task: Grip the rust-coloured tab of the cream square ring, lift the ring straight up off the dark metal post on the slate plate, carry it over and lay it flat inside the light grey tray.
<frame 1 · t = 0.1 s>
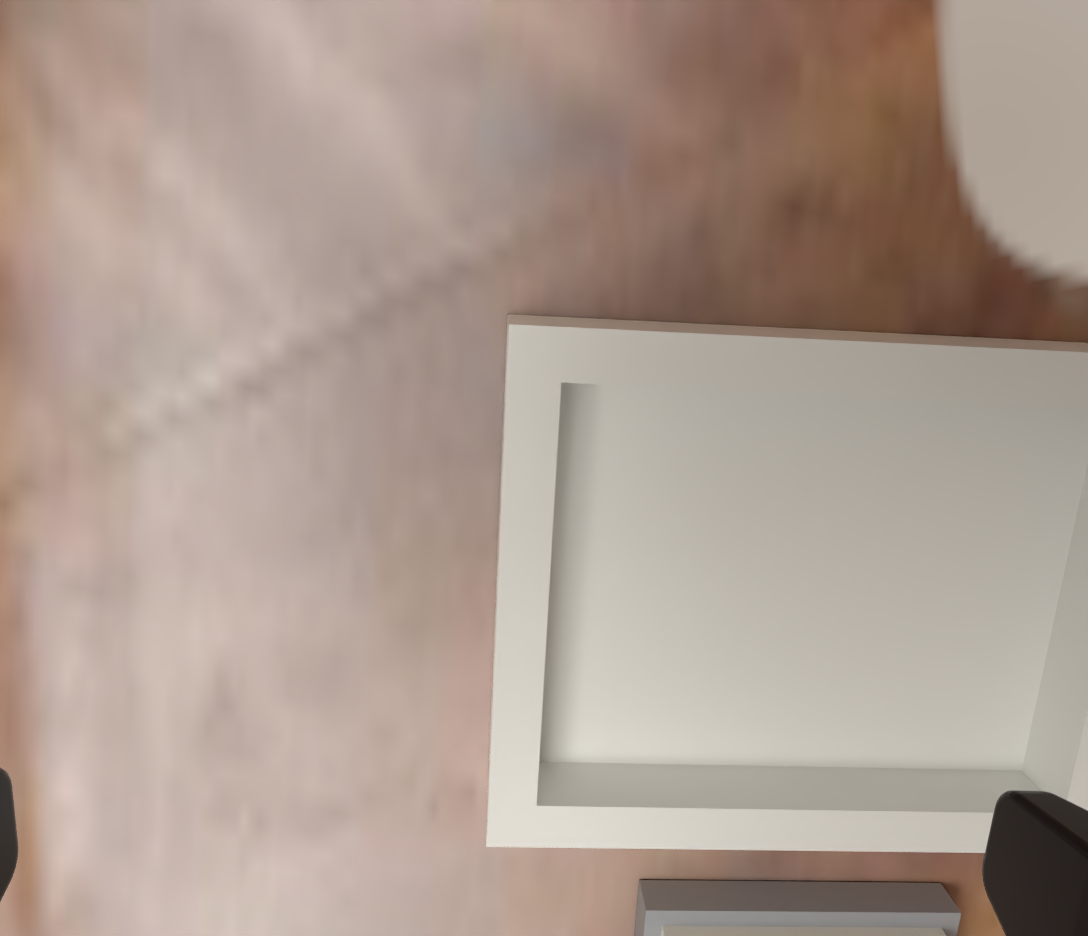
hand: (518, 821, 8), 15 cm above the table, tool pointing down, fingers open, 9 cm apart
tray: (799, 576, 23), on the table
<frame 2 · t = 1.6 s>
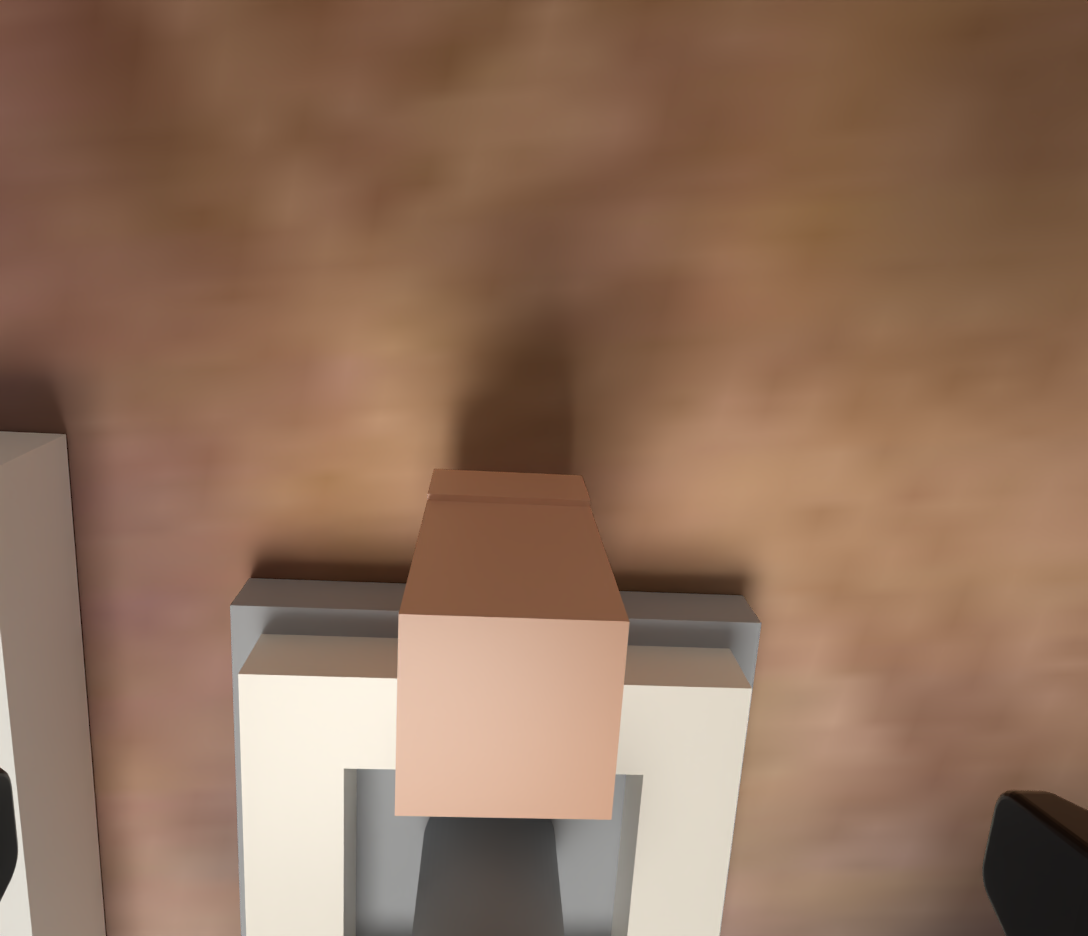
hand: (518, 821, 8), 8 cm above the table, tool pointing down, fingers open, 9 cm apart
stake: (489, 801, 17), on the table
ring: (489, 842, 16), point 1 cm above the table, touching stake
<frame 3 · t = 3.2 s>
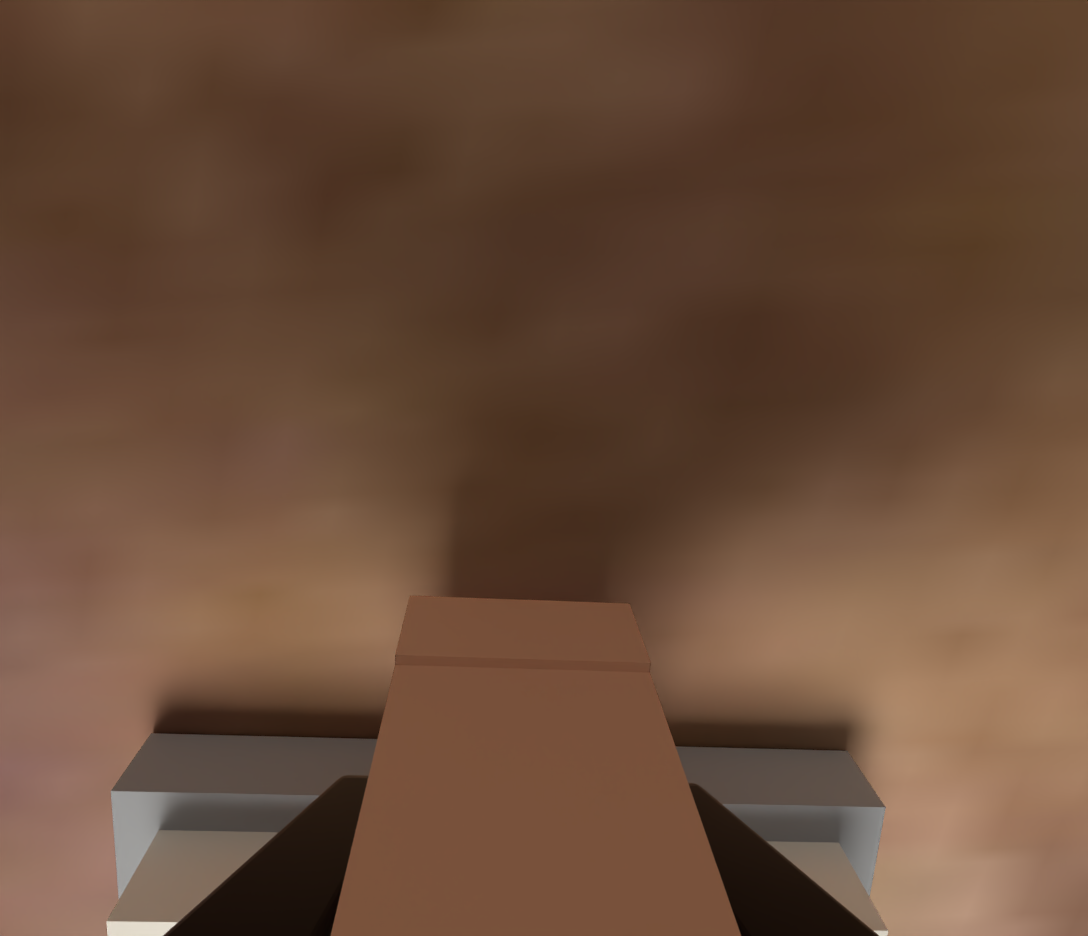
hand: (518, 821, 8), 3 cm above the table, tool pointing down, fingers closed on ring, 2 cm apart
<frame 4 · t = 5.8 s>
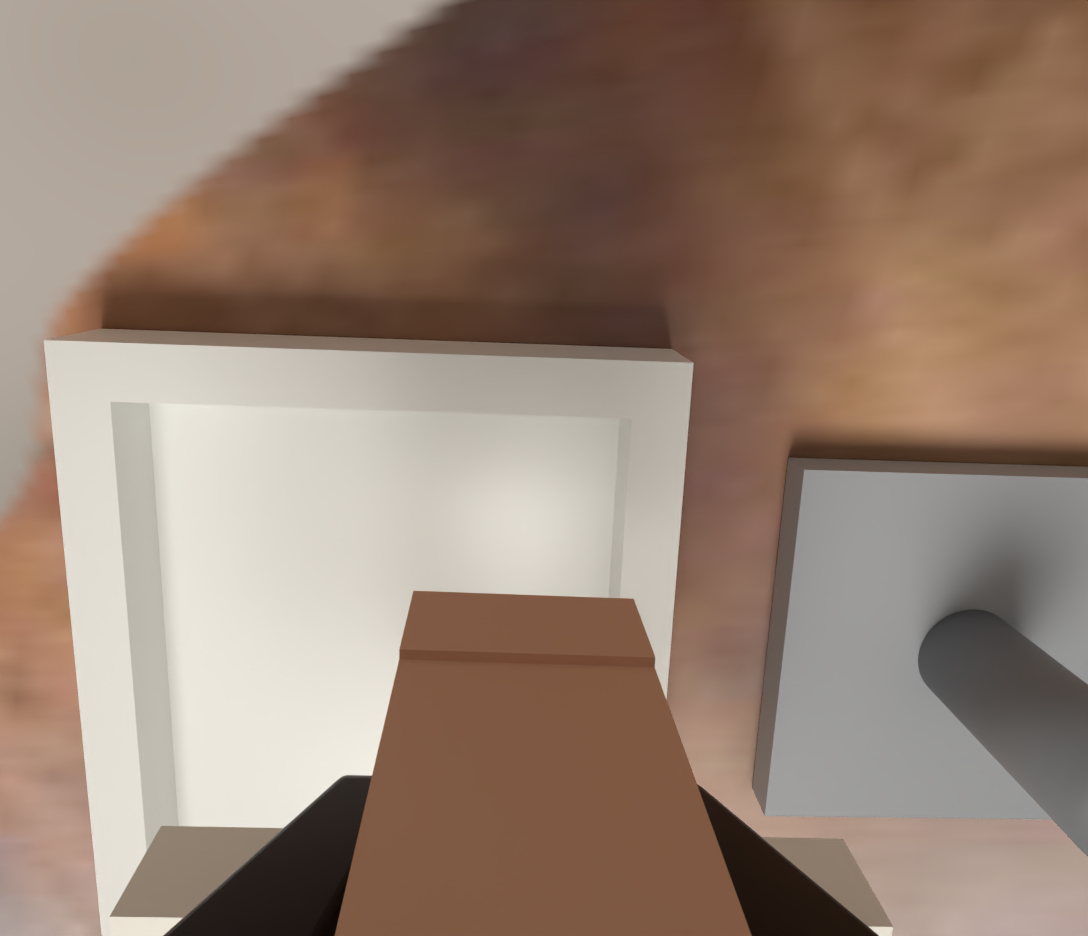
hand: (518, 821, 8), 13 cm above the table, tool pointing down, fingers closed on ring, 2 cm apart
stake: (943, 634, 23), on the table
tray: (391, 659, 22), on the table
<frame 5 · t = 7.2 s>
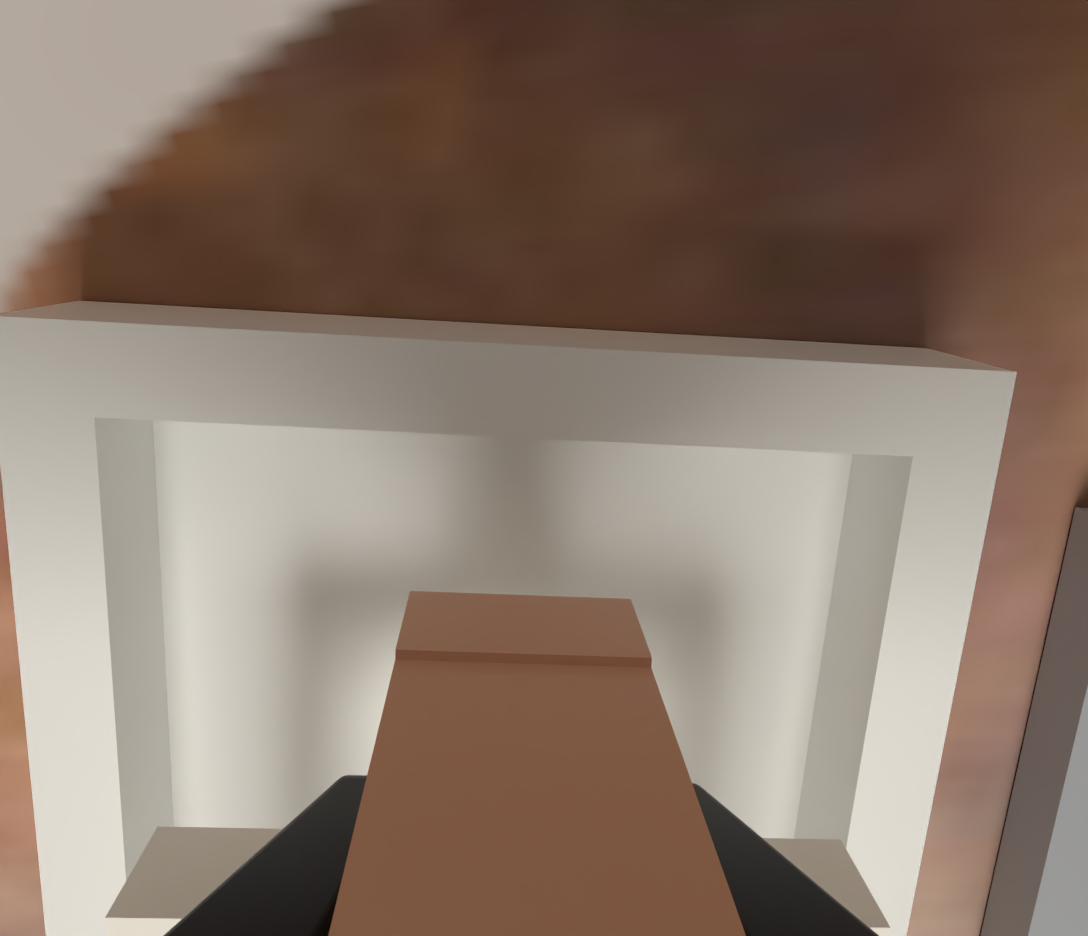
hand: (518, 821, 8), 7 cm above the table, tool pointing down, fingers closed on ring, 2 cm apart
tray: (492, 782, 16), on the table
when the fingers open (4 cm above the table, at t = 8.3 s): ring drops 2 cm, resting on tray.
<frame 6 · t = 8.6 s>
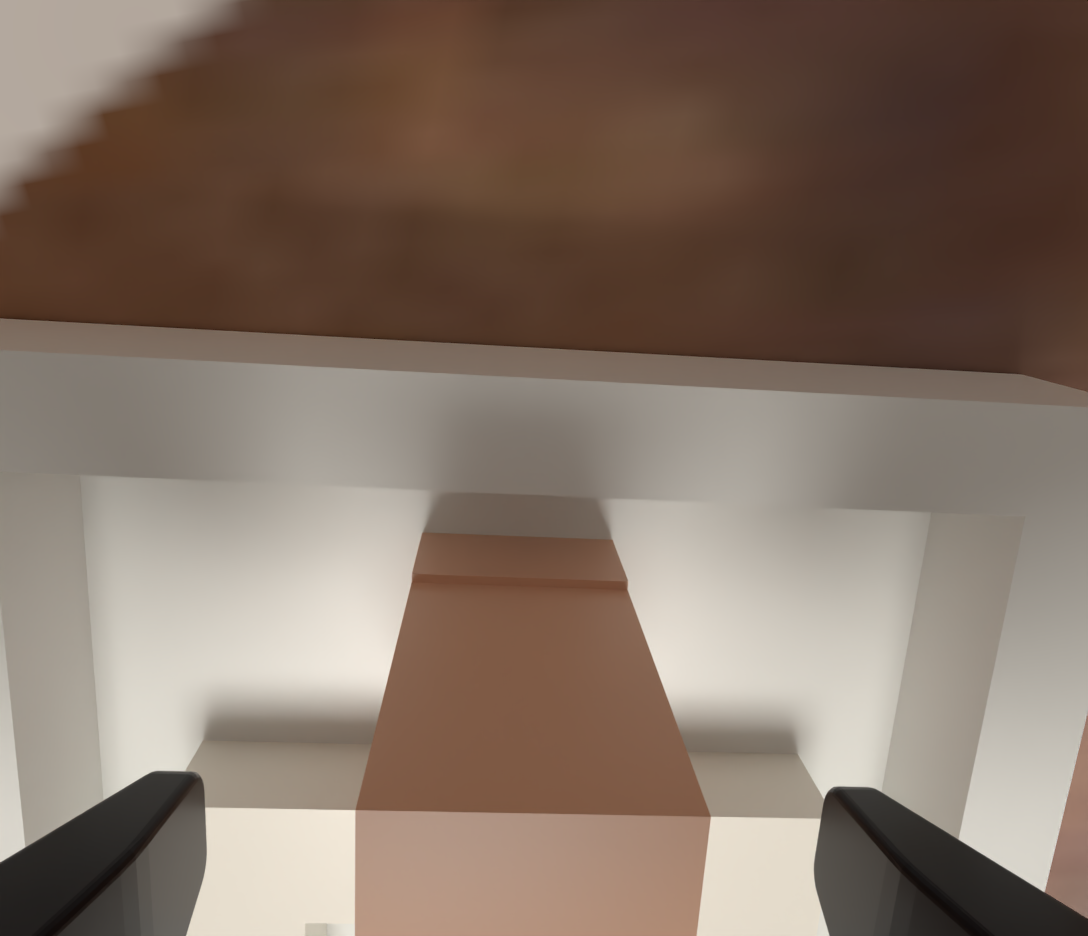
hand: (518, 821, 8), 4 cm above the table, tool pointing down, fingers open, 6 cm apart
tray: (495, 885, 13), on the table
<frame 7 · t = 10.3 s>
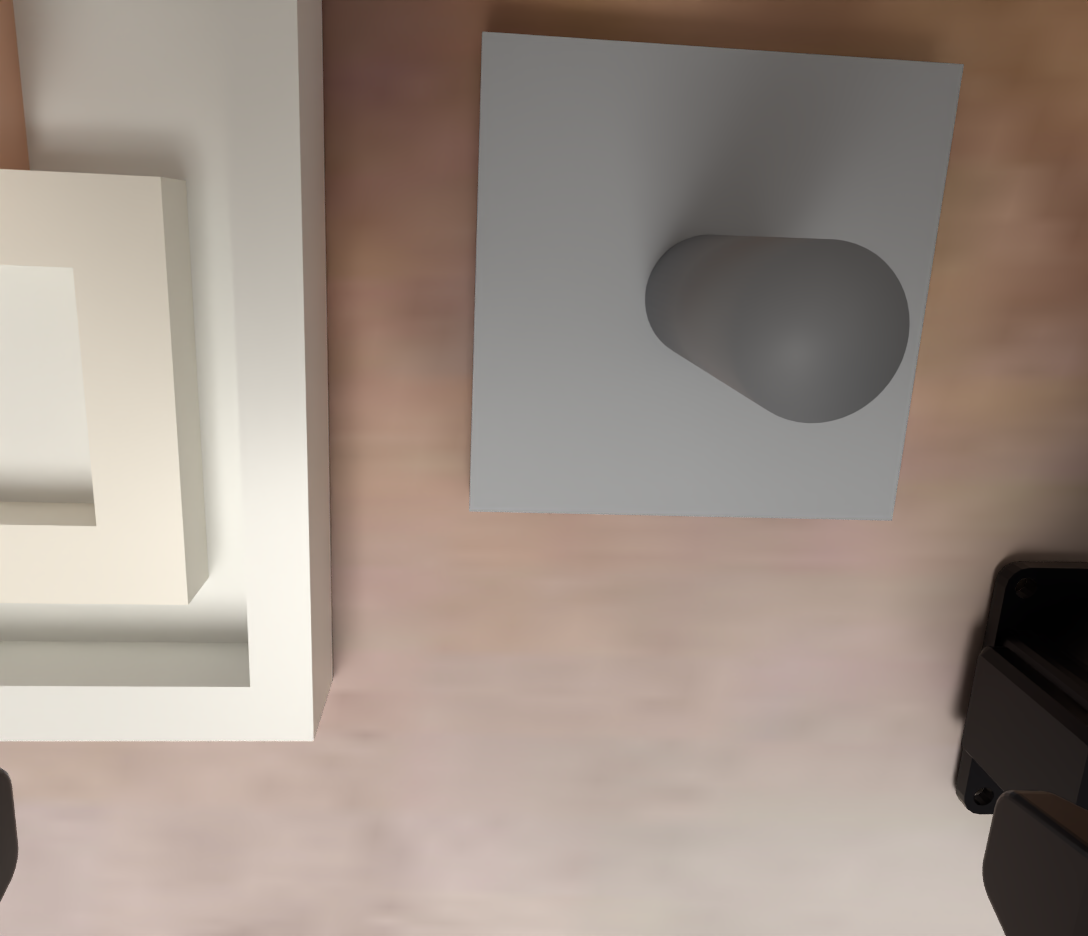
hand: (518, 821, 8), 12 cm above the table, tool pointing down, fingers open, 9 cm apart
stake: (691, 293, 19), on the table
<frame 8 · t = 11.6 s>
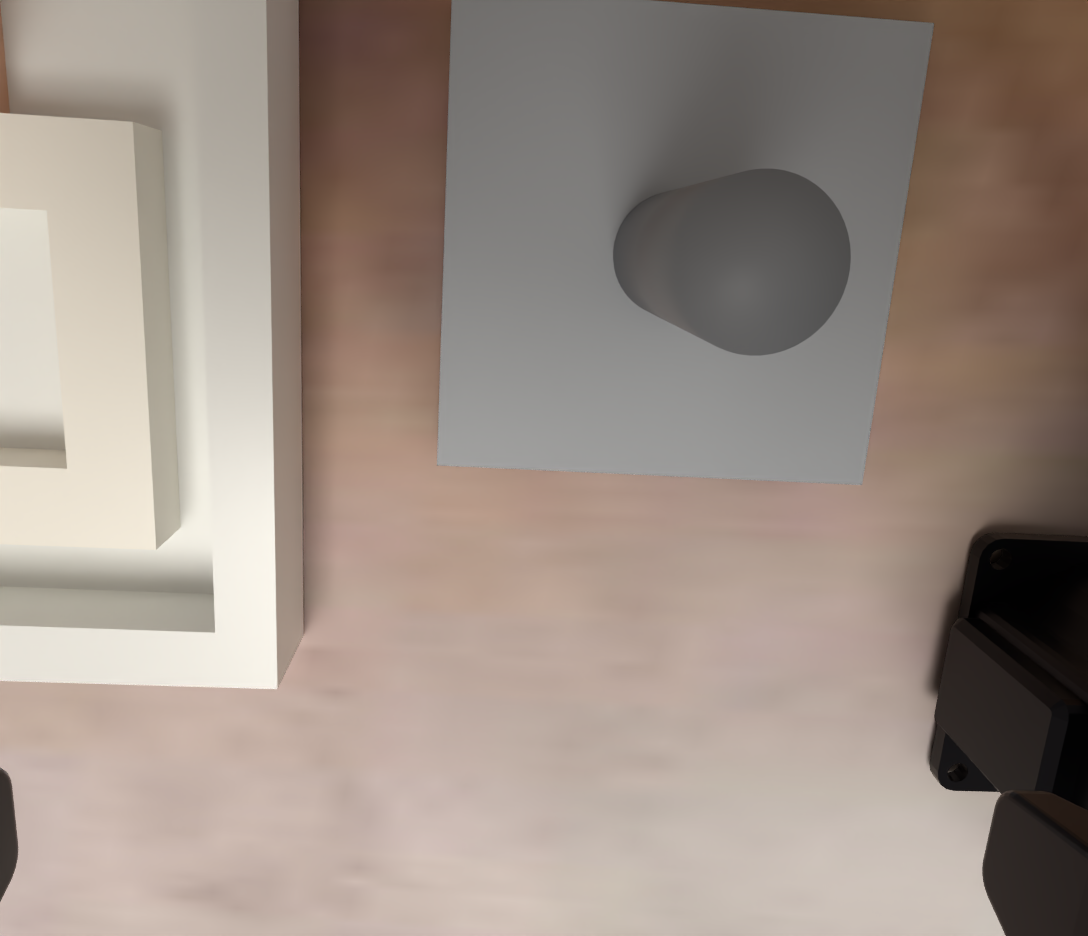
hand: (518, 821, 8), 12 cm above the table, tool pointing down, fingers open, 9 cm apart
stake: (662, 253, 19), on the table
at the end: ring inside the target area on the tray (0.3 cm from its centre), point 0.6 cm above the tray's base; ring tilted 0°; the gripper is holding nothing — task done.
